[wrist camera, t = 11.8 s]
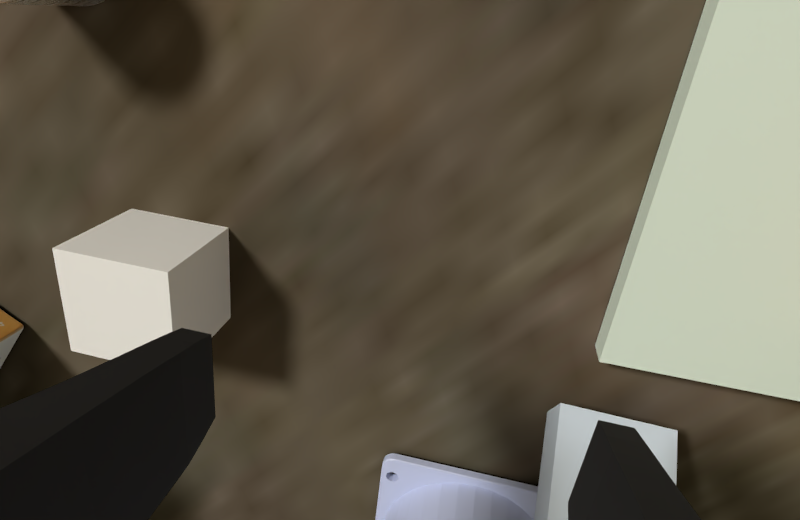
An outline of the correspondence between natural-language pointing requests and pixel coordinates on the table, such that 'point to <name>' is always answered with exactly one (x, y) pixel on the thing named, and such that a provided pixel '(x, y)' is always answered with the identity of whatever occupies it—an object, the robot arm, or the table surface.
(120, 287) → the off-white cube
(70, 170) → the table surface
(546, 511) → the grey-blue slab
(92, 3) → the light grey cylinder
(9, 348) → the small box
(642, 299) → the board
